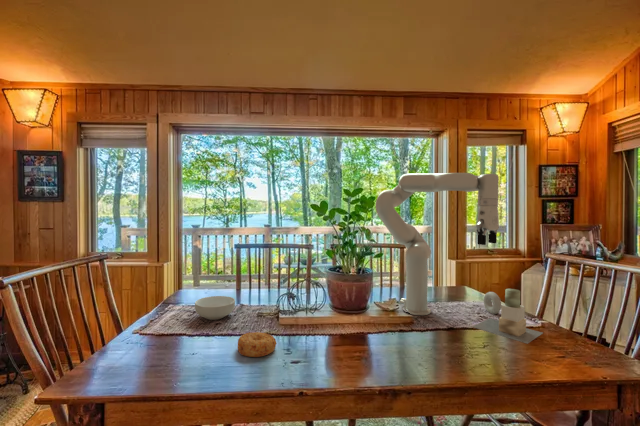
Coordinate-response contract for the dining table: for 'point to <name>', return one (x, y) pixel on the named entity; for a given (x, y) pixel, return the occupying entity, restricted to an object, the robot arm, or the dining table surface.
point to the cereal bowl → (214, 307)
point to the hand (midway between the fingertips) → (487, 243)
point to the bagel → (256, 344)
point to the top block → (512, 313)
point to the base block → (512, 326)
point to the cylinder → (512, 298)
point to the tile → (493, 327)
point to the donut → (496, 301)
